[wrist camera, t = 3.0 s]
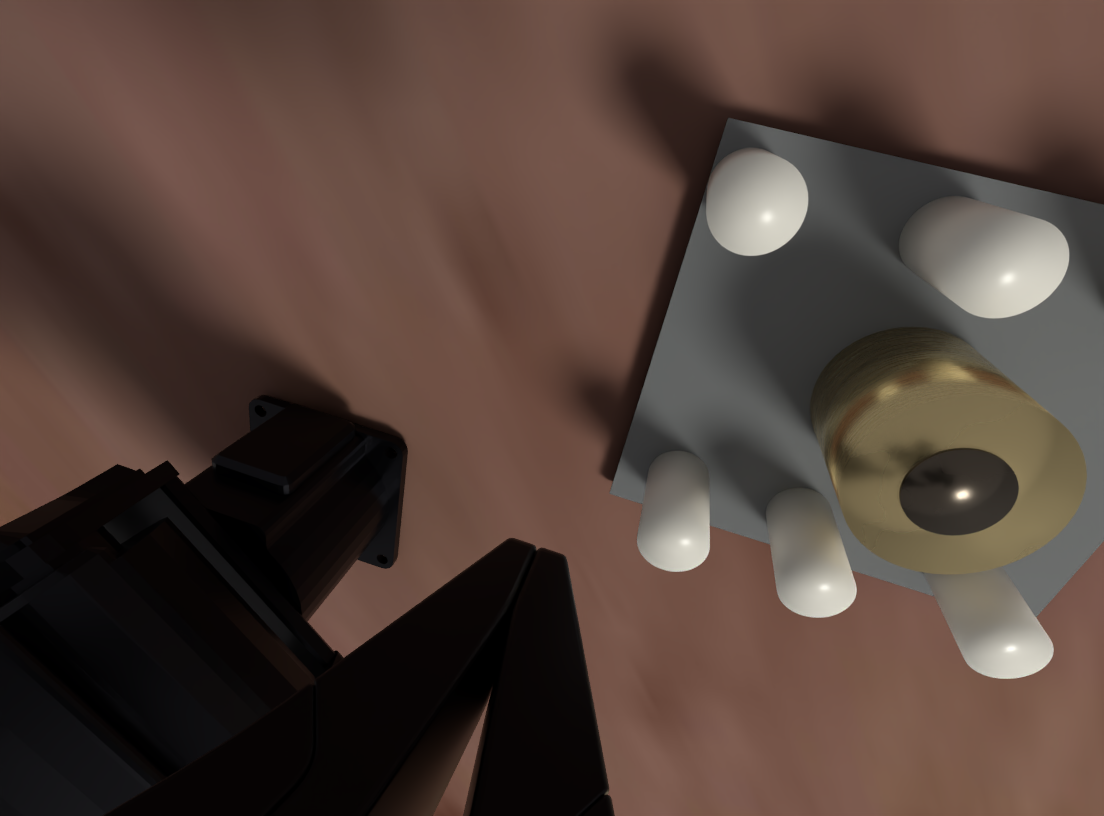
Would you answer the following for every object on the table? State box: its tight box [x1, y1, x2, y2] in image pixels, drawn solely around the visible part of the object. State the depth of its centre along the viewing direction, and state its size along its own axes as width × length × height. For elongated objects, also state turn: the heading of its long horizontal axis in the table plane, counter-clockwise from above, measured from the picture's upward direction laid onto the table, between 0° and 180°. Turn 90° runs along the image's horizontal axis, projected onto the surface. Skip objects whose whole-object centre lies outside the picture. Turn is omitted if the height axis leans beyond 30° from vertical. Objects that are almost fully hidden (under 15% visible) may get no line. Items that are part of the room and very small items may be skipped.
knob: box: [810, 327, 1087, 575], centre depth 14 cm, size 5×5×5 cm
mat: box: [610, 118, 1104, 617], centre depth 17 cm, size 12×14×1 cm
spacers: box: [637, 148, 1069, 679], centre depth 15 cm, size 11×12×4 cm
